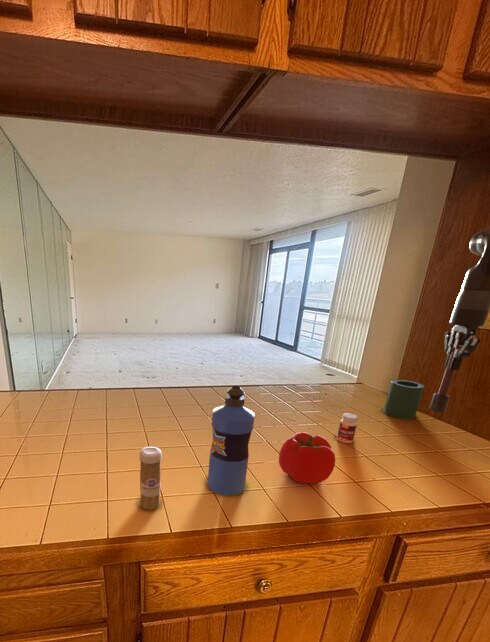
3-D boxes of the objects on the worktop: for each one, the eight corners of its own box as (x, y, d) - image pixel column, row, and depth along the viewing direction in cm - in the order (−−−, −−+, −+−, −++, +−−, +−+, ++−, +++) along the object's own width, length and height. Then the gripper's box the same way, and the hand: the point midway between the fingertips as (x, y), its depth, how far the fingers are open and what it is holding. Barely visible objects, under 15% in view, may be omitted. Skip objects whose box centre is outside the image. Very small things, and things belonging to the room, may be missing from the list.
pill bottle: (336, 441, 108) (342, 417, 105) (335, 435, 112) (341, 411, 109) (353, 444, 106) (359, 419, 103) (352, 438, 110) (358, 414, 107)
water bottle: (219, 499, 79) (229, 396, 69) (200, 479, 87) (206, 383, 77) (253, 490, 82) (267, 391, 73) (231, 471, 90) (241, 379, 81)
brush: (441, 408, 108) (460, 351, 101) (447, 413, 104) (468, 353, 97) (426, 407, 109) (445, 350, 102) (432, 411, 105) (452, 353, 98)
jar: (408, 410, 135) (417, 381, 130) (419, 420, 126) (429, 389, 121) (379, 408, 137) (387, 379, 132) (388, 417, 128) (397, 386, 123)
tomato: (282, 458, 97) (288, 424, 93) (333, 471, 91) (341, 435, 87) (269, 481, 87) (275, 443, 83) (326, 497, 80) (336, 458, 76)
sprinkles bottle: (144, 512, 74) (144, 457, 69) (137, 500, 78) (136, 447, 73) (163, 507, 76) (165, 453, 71) (155, 496, 80) (156, 444, 75)
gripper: (504, 310, 88) (479, 376, 94) (472, 305, 100) (453, 364, 107) (470, 309, 89) (448, 374, 96) (443, 305, 102) (425, 362, 108)
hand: (451, 368), depth 101 cm, fingers closed on brush, 2 cm apart
